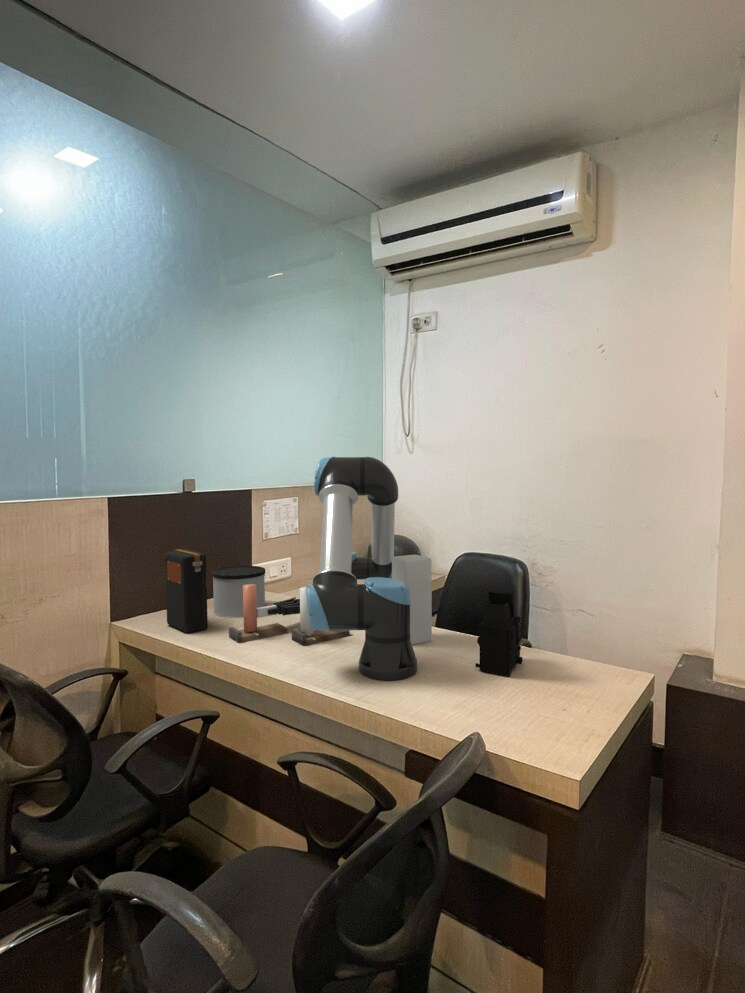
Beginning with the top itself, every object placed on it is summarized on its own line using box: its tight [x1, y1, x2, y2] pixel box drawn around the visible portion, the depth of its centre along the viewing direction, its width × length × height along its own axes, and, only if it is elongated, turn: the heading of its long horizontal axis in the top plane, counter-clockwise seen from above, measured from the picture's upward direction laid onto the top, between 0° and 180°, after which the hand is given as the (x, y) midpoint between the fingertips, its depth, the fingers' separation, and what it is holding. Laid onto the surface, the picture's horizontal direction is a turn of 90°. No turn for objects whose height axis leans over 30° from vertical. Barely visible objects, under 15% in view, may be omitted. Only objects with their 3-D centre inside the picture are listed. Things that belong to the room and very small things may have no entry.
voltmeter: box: [164, 548, 209, 634], centre depth 180 cm, size 16×9×25 cm, turn 45°
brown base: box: [228, 622, 289, 644], centre depth 172 cm, size 16×9×3 cm, turn 126°
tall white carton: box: [392, 553, 433, 646], centre depth 166 cm, size 9×9×25 cm
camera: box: [474, 589, 524, 677], centre depth 143 cm, size 10×14×20 cm
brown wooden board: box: [290, 629, 351, 647], centre depth 169 cm, size 16×9×3 cm, turn 126°
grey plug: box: [299, 586, 315, 636], centre depth 166 cm, size 4×4×14 cm
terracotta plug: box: [243, 584, 258, 632], centre depth 170 cm, size 4×4×14 cm
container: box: [211, 565, 266, 619], centre depth 201 cm, size 19×19×15 cm
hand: (256, 612), depth 171 cm, fingers closed
